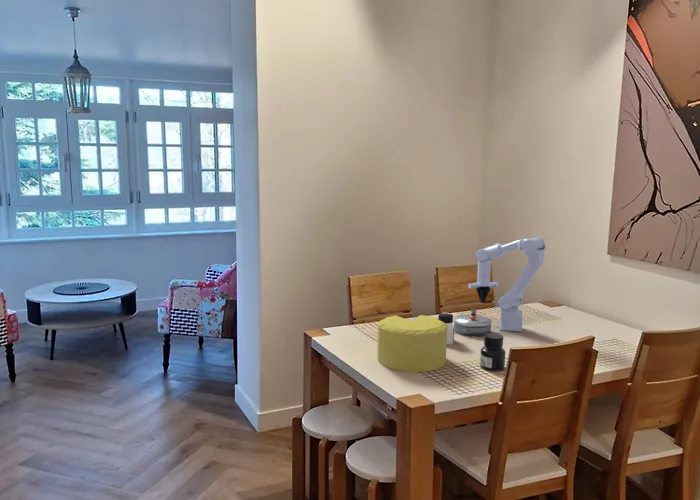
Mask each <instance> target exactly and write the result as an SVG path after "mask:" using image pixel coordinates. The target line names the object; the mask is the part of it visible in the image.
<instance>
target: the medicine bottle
mask: <svg viewBox="0 0 700 500" xmlns="http://www.w3.org/2000/svg"><path fill="white" fill-rule="evenodd" d="M437 319H438V320H440V321H443V322H444V323H445V324H446V325H447V345H453V344H454V340H455V339H454V338H455V336H454V335H455V332H454V315H453V314H452V313H449V312H442V313H441V312H440V313H439V314H438V316H437Z"/></svg>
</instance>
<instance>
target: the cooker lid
mask: <svg viewBox="0 0 700 500" xmlns="http://www.w3.org/2000/svg"><path fill="white" fill-rule="evenodd" d="M492 321H493V320H492V319H491V318H489V317H488V316H485V315H484V316H483V315H478V314H477V308H471V312H470V314H461V315H460V314H459V315H457V316H453V323H454V322H455V323H456V324H458V325H462V326H466V327H487V326H490V325H491V326H492V324H493V322H492Z"/></svg>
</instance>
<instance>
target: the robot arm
mask: <svg viewBox="0 0 700 500" xmlns="http://www.w3.org/2000/svg"><path fill="white" fill-rule="evenodd" d="M517 249H518V250H519V251H522V252H523V253H524V255H525V256H526V259H527V260H528V262H527V263H526V265H525V266H524V268H523V270H522V271H521V273H520V274H519V276H518V277H517V278H516V280H515V282H514V283H513V285H512V286H511V288H510V289H509V290H508V291H506V292H505V293H504V295H503V296H500V298H499V299H498V305H499V307H500V324H499V327H498V328H499V330H500V331H508V332H509V331H512V332H522V330H523V328H522V327H523V310H521V309H519V306H521V304H522V300H523V297H524V292H525V291H526V289H527V288H528V286H529V285H530V283H531V281H532V280H533V278H534V277H535V275H536V274H537V273H538V272H539V270H540V268H541V267H542V265H543V262H544V254H545V251H546V249H547V246H546V243H545V241H544V239H543V238H542V237H540V236H538V237H537V236H535V237H531V238H523V239H522V238H521V239H518V240H515V241H512V242H510V243H506V244H502V243H498V242H497V243H494V244H493V245H491V246H489V245H488V246H485V248H480V249H478V250H477V251H476V252H475V258H476V259H477V276H476V277H477V278H476V279H477V280H476V282H472V283H471V282H470V283H468V286H467V287H468V289H475V290H476V292H477V295H478V298H479V302H480V303H481V304H485V303H486V300H487V296H488V295H489V293H490V292H491V288H498V287H499V282H497V281H492V282H491V281H490V280H491V264H492V260H493V259H497V258H500V257H503V256H505V255H506V253H507V252H510V251H514V250H517Z"/></svg>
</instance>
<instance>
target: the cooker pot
mask: <svg viewBox="0 0 700 500" xmlns="http://www.w3.org/2000/svg"><path fill="white" fill-rule="evenodd" d="M453 324H454V334H455V333H456V335H461V336H465V337H470V338H471V337H472V338H474V337H475V338H484V335H485V334H488V333H492V332H491V331H492V324H491V325H490V326H487V327H466V326H462V325H458V324H456V323H455V322H454V321H453Z"/></svg>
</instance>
